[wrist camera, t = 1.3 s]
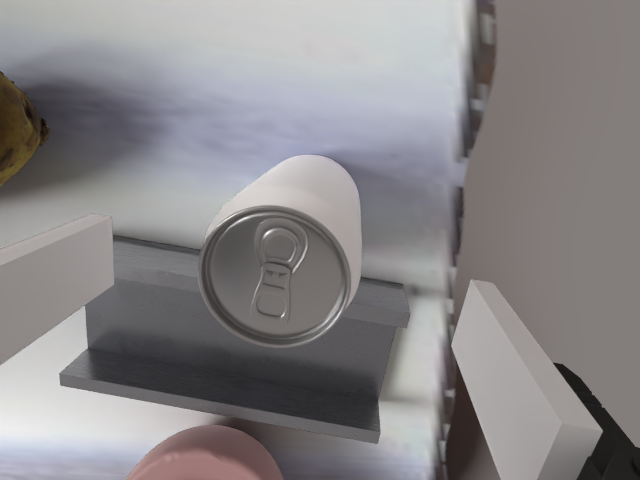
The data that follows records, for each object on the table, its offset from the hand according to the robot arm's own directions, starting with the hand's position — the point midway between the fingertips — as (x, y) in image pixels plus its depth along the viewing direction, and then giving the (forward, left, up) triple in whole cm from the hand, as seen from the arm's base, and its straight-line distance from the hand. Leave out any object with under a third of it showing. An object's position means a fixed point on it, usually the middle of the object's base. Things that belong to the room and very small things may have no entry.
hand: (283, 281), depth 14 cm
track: (-4, -9, -12) cm, 16 cm away
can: (0, 0, -12) cm, 12 cm away
